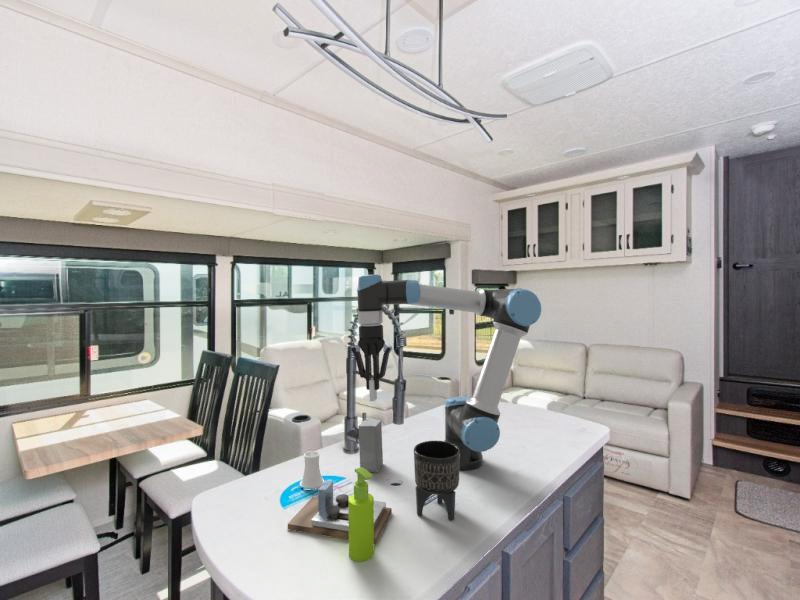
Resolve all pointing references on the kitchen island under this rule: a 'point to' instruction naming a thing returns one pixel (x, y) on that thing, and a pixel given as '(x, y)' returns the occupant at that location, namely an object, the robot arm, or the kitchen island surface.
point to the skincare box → (370, 445)
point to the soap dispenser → (361, 519)
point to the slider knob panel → (329, 499)
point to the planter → (436, 473)
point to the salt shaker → (312, 471)
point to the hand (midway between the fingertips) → (373, 399)
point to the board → (313, 510)
